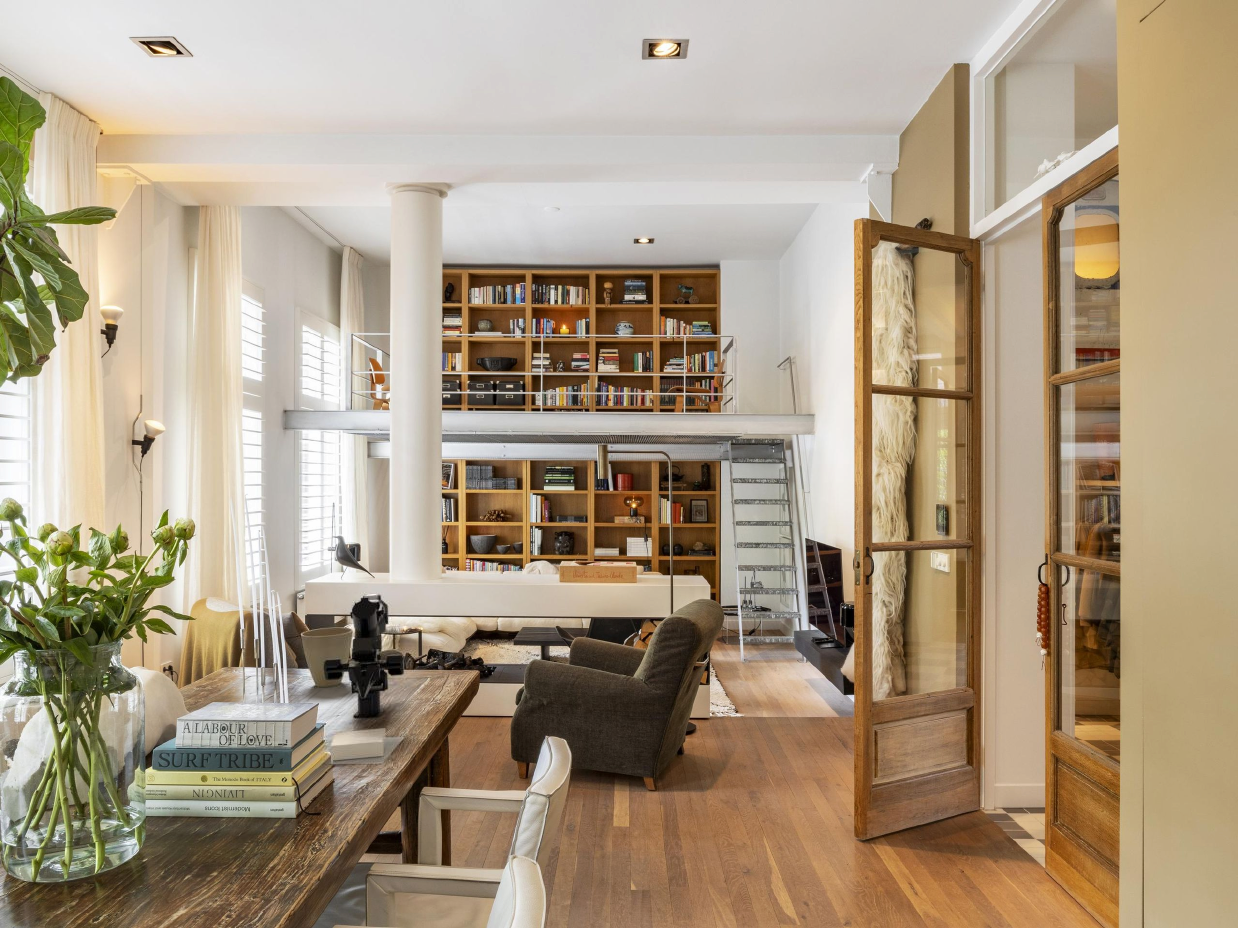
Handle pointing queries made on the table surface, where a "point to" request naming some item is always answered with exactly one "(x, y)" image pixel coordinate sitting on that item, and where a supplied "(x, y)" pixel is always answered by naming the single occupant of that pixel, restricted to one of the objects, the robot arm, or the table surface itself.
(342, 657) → the plant pot
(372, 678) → the robot arm
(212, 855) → the table surface
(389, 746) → the mat
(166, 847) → the table surface
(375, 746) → the cream block
